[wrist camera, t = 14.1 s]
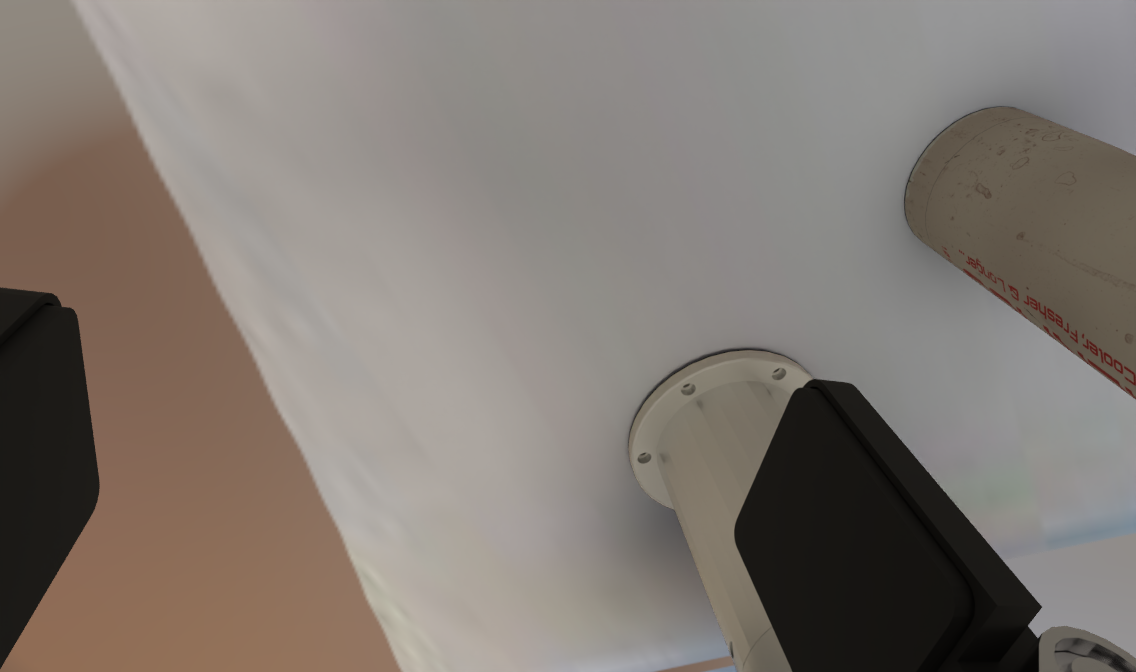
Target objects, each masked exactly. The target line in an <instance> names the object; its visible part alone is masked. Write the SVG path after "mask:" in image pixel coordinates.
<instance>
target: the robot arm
mask: <svg viewBox="0 0 1136 672" xmlns="http://www.w3.org/2000/svg"><path fill="white" fill-rule="evenodd" d="M628 449H629V457H630V463H631V465H632V468H633V472H634V475H635V477H636V479H637V481H638V483H639V484H640V486H641V488H642V489H643V490H644V491H645V492H646V493H647V494H648V495H649V496H650V497H651V498H652V499H653V500H655V501H657V502H658V503H660V504H661V505H663V506H665V507H668V508H670V509H673V510H675V512H676V515H677V517H678V520H679V523H680V525H681V528H682V530H683V533H684V535H685V538H686V541H687V543H688V546H689V548H690V551H691V554H692V556H693V559H694V561H695V564H696V567H697V569H698V572H699V574H700V577H701V580H702V582H703V585H704V587H705V590H706V592H707V595H708V598H709V600H710V603H711V605H712V608H713V611H714V613H715V616H716V618H717V621H718V624H719V626H720V629H721V631H722V634H723V637H724V639H725V642H726V644H727V647H728V649H729V652H730V655H731V657H732V659H733V662H734V665H735V668H736V670H737V672H1136V658H1134V657H1133V656H1132V655H1130V654H1129V653H1128V652H1126V651H1124V650H1123V649H1121V648H1120V647H1118V646H1116V645H1115V644H1113V643H1111V642H1110V641H1108V640H1106V639H1104V638H1101V637H1099V636H1097V635H1095V634H1092V633H1090V632H1088V631H1085V630H1081V629H1076V628H1072V627H1068V626H1061V627H1051V628H1050V629H1048V630H1047V631H1045V632H1044V633H1042V634H1041V636H1040V637H1039V638H1037V637H1036V636H1035V634H1034V633H1033V632H1032V631H1031V629H1030V628H1029V627H1028V624H1029V623H1030V622H1031V621H1032V619H1033V618H1034V617H1035V616H1036V614H1037V613H1038V612H1039V611H1040V609H1041V608H1042V606H1041V605H1040V604H1039V603H1038V602H1037V601H1036V600H1035V598H1034V597H1033V596H1032V595H1031V593H1030V592H1029V591H1028V590H1027V589H1026V588H1025V586H1024V585H1023V584H1022V583H1021V582H1020V581H1019V579H1018V578H1017V577H1016V576H1015V575H1014V573H1013V572H1012V571H1011V570H1010V569H1009V567H1008V566H1007V565H1006V564H1005V563H1004V562H1003V560H1002V559H1001V558H1000V557H999V556H998V554H997V553H996V552H995V551H994V550H993V549H992V547H991V546H990V545H989V544H988V543H987V541H986V540H985V539H984V538H983V537H982V536H981V534H980V533H979V532H978V531H977V530H976V528H975V527H974V526H973V525H972V524H971V523H970V521H969V520H968V519H967V518H966V517H965V515H964V514H963V513H962V512H961V511H960V510H959V508H958V507H957V506H956V505H955V504H954V502H953V501H952V500H951V499H950V498H949V497H948V495H947V494H946V493H945V492H944V491H943V489H942V488H941V487H940V486H939V485H938V484H937V482H936V481H935V480H934V479H933V478H932V476H931V475H930V474H929V473H928V472H927V471H926V469H925V468H924V467H923V466H922V465H921V464H920V462H919V461H918V460H917V459H916V458H915V456H914V455H913V454H912V453H911V452H910V451H909V449H908V448H907V447H906V446H905V445H904V443H903V442H902V441H901V440H900V439H899V438H898V436H897V435H896V434H895V433H894V432H893V430H892V429H891V428H890V427H889V426H888V425H887V423H886V422H885V421H884V420H883V419H882V417H881V416H880V415H879V414H878V413H877V412H876V410H875V409H874V408H873V407H872V406H871V404H870V403H869V402H868V401H867V400H866V399H865V397H864V396H863V395H862V394H861V393H860V391H859V390H858V389H857V388H856V387H855V386H854V385H852V384H850V383H845V382H836V381H827V380H819V379H813V378H812V377H811V376H810V374H809V373H808V372H806V371H805V370H804V369H803V368H802V367H801V366H800V365H799V364H797V363H795V362H794V361H792V360H790V359H788V358H786V357H784V356H781V355H777V354H774V353H770V352H765V351H753V350H745V351H734V352H727V353H723V354H719V355H715V356H711V357H708V358H706V359H703V360H701V361H698V362H696V363H693V364H691V365H689V366H688V367H686V368H684V369H682V370H681V371H679V372H677V373H676V374H674V375H673V376H671V377H670V378H669V379H668V380H666V381H665V382H664V383H663V384H662V385H660V386H659V387H658V388H657V389H656V390H655V391H654V392H653V394H652V395H651V396H650V397H649V398H648V399H647V400H646V401H645V403H644V405H643V406H642V408H641V409H640V411H639V413H638V414H637V416H636V418H635V421H634V424H633V426H632V429H631V432H630V438H629V446H628ZM98 495H99V475H98V468H97V460H96V452H95V445H94V437H93V430H92V423H91V415H90V408H89V400H88V392H87V385H86V377H85V370H84V362H83V354H82V347H81V340H80V332H79V325H78V319H77V315H76V313H75V311H74V310H73V309H71V308H67V307H62V306H61V303H60V301H59V300H58V298H57V296H55V295H54V294H52V293H44V292H35V291H26V290H17V289H8V288H0V669H1V667H2V665H3V663H4V662H5V660H6V658H7V657H8V655H9V653H10V652H11V650H12V648H13V647H14V645H15V643H16V642H17V640H18V638H19V636H20V635H21V633H22V631H23V630H24V628H25V626H26V625H27V623H28V621H29V619H30V618H31V616H32V615H33V613H34V611H35V610H36V608H37V606H38V604H39V603H40V601H41V599H42V598H43V596H44V594H45V593H46V591H47V589H48V588H49V586H50V584H51V583H52V581H53V579H54V578H55V576H56V574H57V572H58V571H59V569H60V567H61V566H62V564H63V562H64V561H65V559H66V557H67V556H68V554H69V552H70V551H71V549H72V547H73V545H74V544H75V542H76V540H77V539H78V537H79V535H80V534H81V532H82V530H83V529H84V527H85V525H86V524H87V522H88V520H89V519H90V517H91V515H92V513H93V511H94V509H95V506H96V503H97V500H98Z"/></svg>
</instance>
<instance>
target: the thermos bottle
mask: <svg viewBox="0 0 1136 672" xmlns="http://www.w3.org/2000/svg"><path fill="white" fill-rule="evenodd" d="M905 213H906V216H907V220H908V224H909V226H910V227H911V229H912V231H913V233H914V234H915V235H916V236H917V237H918V238H919V239H920V240H921V241H922V242H924V243H925V244H926V245H928V246H929V247H930V248H932V249H933V250H934V251H936V252H937V253H938V254H940V255H941V256H942V257H944V258H945V259H947V260H948V261H949V262H951V263H952V264H953V265H955V266H956V267H957V268H959V269H960V270H961V271H963V272H964V273H965V274H967V275H968V276H970V277H971V278H972V279H974V280H975V281H976V282H978V283H979V284H980V285H982V286H983V287H984V288H986V289H987V290H988V291H990V292H991V293H993V294H994V295H995V296H997V297H998V298H999V299H1001V300H1002V301H1003V302H1005V303H1006V304H1007V305H1009V306H1010V307H1011V308H1013V309H1014V310H1015V311H1017V312H1018V313H1020V314H1021V315H1022V316H1024V317H1025V318H1026V319H1028V320H1029V321H1030V322H1032V323H1033V324H1034V325H1036V326H1037V327H1039V328H1040V329H1041V330H1043V331H1044V332H1045V333H1047V334H1048V335H1049V336H1051V337H1052V338H1054V339H1055V340H1056V341H1058V342H1059V343H1060V344H1062V345H1063V346H1064V347H1066V348H1067V349H1068V350H1070V351H1071V352H1072V353H1074V354H1075V355H1076V356H1078V357H1079V358H1081V359H1082V360H1083V361H1085V362H1086V363H1087V364H1089V365H1090V366H1091V367H1093V368H1094V369H1095V370H1097V371H1098V372H1099V373H1101V374H1102V375H1103V376H1105V377H1106V378H1107V379H1109V380H1110V381H1112V382H1113V383H1114V384H1116V385H1117V386H1118V387H1120V388H1121V389H1122V390H1124V391H1125V392H1126V393H1128V394H1129V395H1130V396H1132V397H1133V398H1135V399H1136V156H1134V155H1132V154H1130V153H1128V152H1126V151H1124V150H1121V149H1119V148H1117V147H1114V146H1112V145H1110V144H1107V143H1105V142H1102V141H1099V140H1097V139H1094V138H1092V137H1089V136H1087V135H1084V134H1082V133H1079V132H1077V131H1074V130H1071V129H1069V128H1066V127H1064V126H1061V125H1059V124H1056V123H1054V122H1051V121H1049V120H1046V119H1043V118H1041V117H1038V116H1036V115H1033V114H1031V113H1028V112H1025V111H1022V110H1019V109H1016V108H1012V107H995V108H989V109H984V110H981V111H978V112H975V113H972V114H969V115H968V116H966V117H964V118H962V119H960V120H959V121H957V122H955V123H954V124H952V125H951V126H950V127H948V128H947V129H946V130H944V131H943V132H942V133H941V134H940V135H939V136H938V137H937V138H936V139H935V140H934V141H933V142H932V143H931V144H930V145H929V146H928V148H927V149H926V150H925V152H924V153H923V154H922V156H921V157H920V159H919V160H918V162H917V164H916V166H915V168H914V170H913V171H912V174H911V177H910V180H909V182H908V185H907V190H906V196H905Z"/></svg>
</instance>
